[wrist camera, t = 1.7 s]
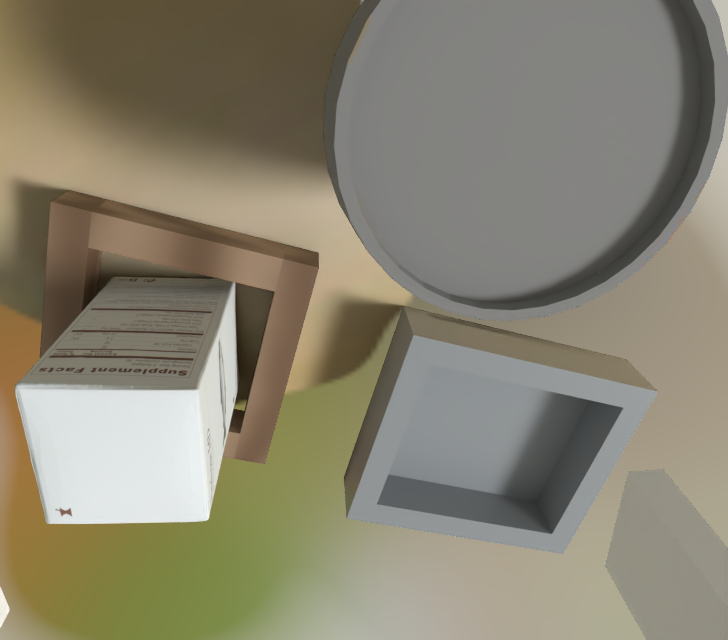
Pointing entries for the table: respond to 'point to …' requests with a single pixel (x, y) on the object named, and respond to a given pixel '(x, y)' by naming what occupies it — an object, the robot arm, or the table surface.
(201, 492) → the supplement box
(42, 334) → the walnut collar
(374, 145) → the reusable coffee cup
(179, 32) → the table surface
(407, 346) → the grey tray
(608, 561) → the robot arm
